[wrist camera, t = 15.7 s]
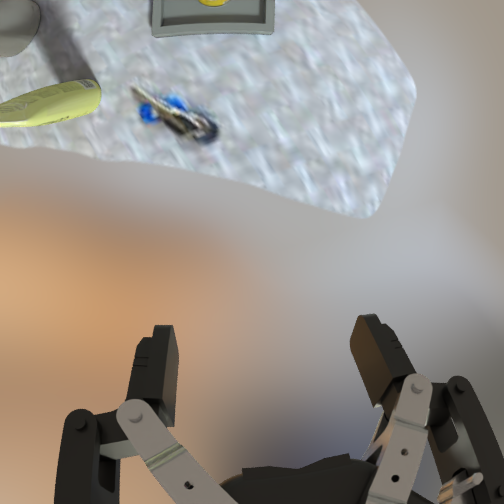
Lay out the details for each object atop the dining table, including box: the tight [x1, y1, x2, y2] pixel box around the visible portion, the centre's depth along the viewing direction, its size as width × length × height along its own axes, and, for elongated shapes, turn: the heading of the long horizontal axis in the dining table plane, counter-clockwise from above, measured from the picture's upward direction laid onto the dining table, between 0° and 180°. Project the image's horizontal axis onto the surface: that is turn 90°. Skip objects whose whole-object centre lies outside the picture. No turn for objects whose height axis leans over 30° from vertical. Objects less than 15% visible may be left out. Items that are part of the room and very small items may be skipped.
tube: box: [0, 79, 101, 127], centre depth 23 cm, size 6×5×20 cm
